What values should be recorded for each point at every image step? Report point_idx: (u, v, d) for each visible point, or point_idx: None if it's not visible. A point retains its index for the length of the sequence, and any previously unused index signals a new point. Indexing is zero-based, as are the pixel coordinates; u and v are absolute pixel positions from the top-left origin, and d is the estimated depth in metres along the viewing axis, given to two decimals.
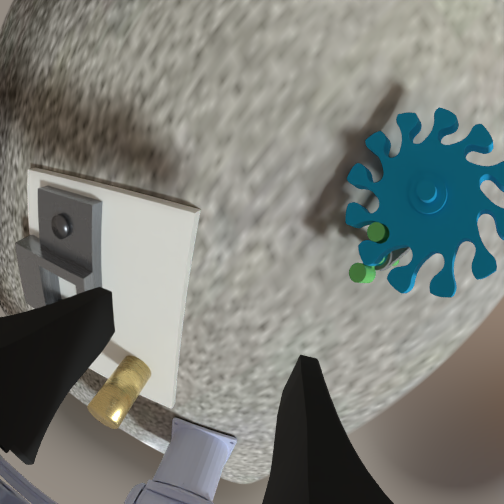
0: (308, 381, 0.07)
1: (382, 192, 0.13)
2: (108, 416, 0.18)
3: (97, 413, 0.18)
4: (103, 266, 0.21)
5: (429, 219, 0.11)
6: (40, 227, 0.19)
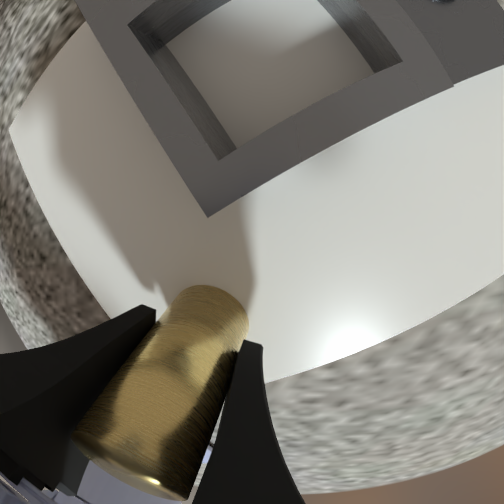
0: (242, 364, 0.07)
1: None
2: (171, 491, 0.04)
3: (115, 462, 0.04)
4: (424, 103, 0.07)
5: None
6: None
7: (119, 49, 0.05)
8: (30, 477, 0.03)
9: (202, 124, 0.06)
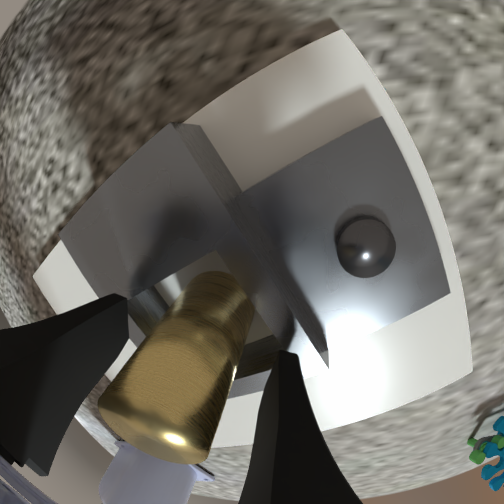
0: (284, 375, 0.07)
1: None
2: (192, 449, 0.06)
3: (141, 422, 0.06)
4: None
5: None
6: (292, 174, 0.09)
7: None
8: None
9: None
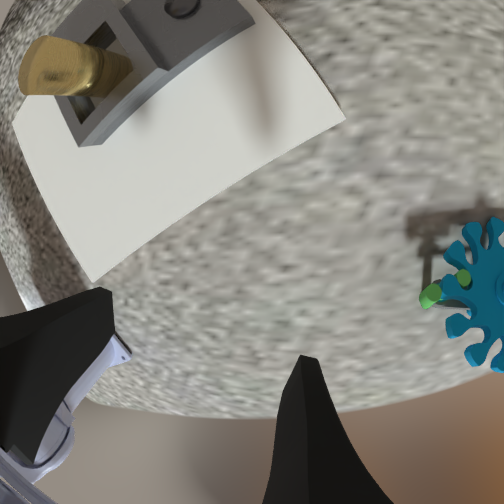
0: (308, 381, 0.07)
1: (483, 257, 0.13)
2: (47, 59, 0.08)
3: (34, 55, 0.08)
4: (179, 77, 0.14)
5: (498, 304, 0.11)
6: None
7: None
8: None
9: (80, 113, 0.14)
